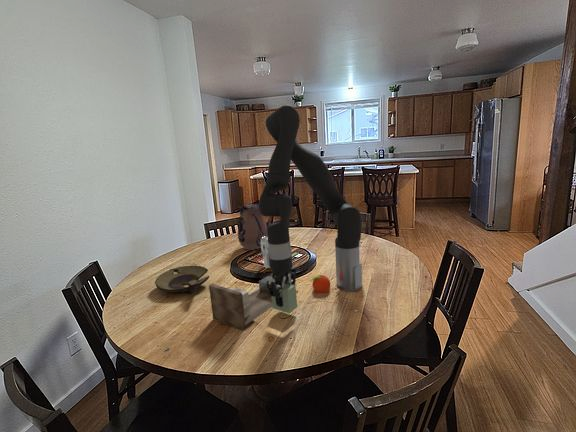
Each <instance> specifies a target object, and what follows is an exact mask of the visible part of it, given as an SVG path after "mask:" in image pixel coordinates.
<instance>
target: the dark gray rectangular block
mask: <svg viewBox="0 0 576 432" xmlns="http://www.w3.org/2000/svg"><path fill="white" fill-rule="evenodd" d="M271 279H272V275H267V276H265V277H264V278H261V279H260V280H258V287H259V288H258V289H259V290H260V292H262V293H265V294H269V295H270V292H269V289H268V287H267V284H266V283H267V281H271Z"/></svg>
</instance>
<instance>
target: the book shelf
mask: <svg viewBox="0 0 576 432" xmlns="http://www.w3.org/2000/svg"><path fill="white" fill-rule="evenodd" d="M208 290H209V291H208V292H209V297H210V305H211V311H212V312H211V313H212V319H213V320H215V321H217V322H219V323H221V324H224V325H227V326H229V327H231V328H234V329H236V330H239V331H241V332H244V330H246V329H247V328H248V327H251V326H252V325H253V324H254V323H256V321H255V319H257V318H258V317H259V316H261V315H263V314H264V313H265V312H267V311H268V310H269V309H271V308H273V306H272V296H271V295H269V294H265V293H262V292H260V290H259V288H258V289H256V290H254V291H253V292H251V293H250V294H249V291H248V290H244V289H241V288H237V287H234V286H231V287H230V288H227V287H224V286H220V285H218V284H215V283H211V284H209V285H208Z"/></svg>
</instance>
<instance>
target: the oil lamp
mask: <svg viewBox="0 0 576 432" xmlns="http://www.w3.org/2000/svg"><path fill="white" fill-rule="evenodd" d="M208 272H209V270H208V268H206V267H205V266H201V265H185V266H184V265H183V266H177V267H175V268H174V267H173V268H170V269H169V270H166V271H164V272H162V273H160V274H159V275H158V276H157V278H156V279H155V281H154V284H155V286H156V288H157V289H159V290H160V291H163V292H168V293H169V292H170V293H180V292H181V293H183V292H184V293H185V292H189V293H195V292H196V291H197V290H198V288H199V287H200V286H202V285H203V284H204V283H206V282H207V280H209V278H210V275H207V276H205V277H203V276H204V275H206V273H208ZM202 277H203V278H202ZM184 285H187V286H184Z"/></svg>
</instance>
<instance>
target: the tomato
mask: <svg viewBox="0 0 576 432" xmlns="http://www.w3.org/2000/svg"><path fill="white" fill-rule="evenodd" d="M310 282H312V284H311V285H312V288H313V290H314V291H315V292H316V293H321V294H322V293H327V292H328V291H329V290H330V288H331V281H330V279H329V278H328V277H327V276H326V275H323V274H319V275H316V276H314V277H313V278H312V279H311V281H310Z"/></svg>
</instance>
